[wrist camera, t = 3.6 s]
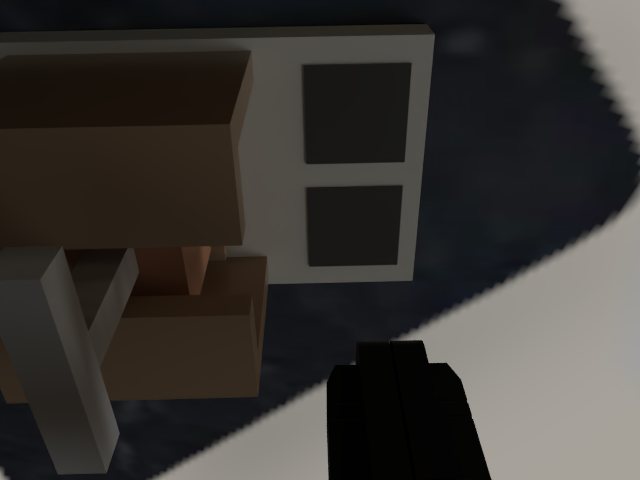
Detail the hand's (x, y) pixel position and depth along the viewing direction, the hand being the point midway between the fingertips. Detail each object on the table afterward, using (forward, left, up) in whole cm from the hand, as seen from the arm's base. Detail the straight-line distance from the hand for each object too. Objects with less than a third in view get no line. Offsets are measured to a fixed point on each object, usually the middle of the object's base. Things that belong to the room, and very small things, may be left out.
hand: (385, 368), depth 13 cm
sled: (0, -8, -9) cm, 12 cm away
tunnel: (0, -8, -11) cm, 13 cm away
